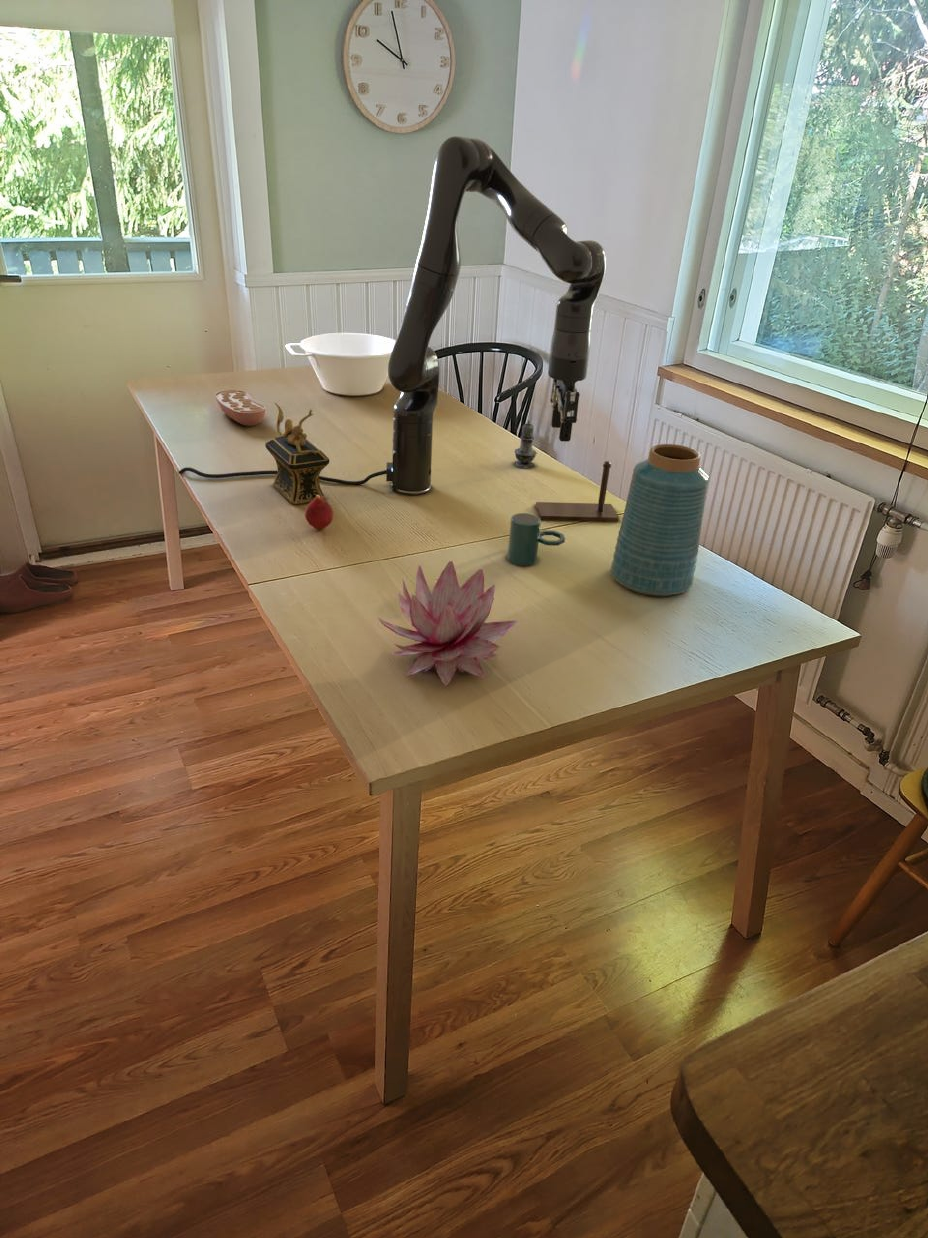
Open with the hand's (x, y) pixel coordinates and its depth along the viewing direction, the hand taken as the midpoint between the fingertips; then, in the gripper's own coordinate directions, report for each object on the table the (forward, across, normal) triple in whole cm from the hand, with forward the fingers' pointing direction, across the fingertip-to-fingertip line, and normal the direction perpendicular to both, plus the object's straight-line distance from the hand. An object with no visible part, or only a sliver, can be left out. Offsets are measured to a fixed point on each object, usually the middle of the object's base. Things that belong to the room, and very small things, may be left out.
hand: (560, 433), depth 171 cm
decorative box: (+23, -24, -56) cm, 65 cm away
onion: (+23, -2, -49) cm, 55 cm away
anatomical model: (+23, -76, -76) cm, 110 cm away
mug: (+23, +11, -5) cm, 26 cm away
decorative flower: (+23, +49, -27) cm, 60 cm away
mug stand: (+23, -12, +9) cm, 28 cm away
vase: (+23, +20, +17) cm, 35 cm away
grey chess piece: (+23, -44, +2) cm, 49 cm away
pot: (+23, -110, -44) cm, 121 cm away
